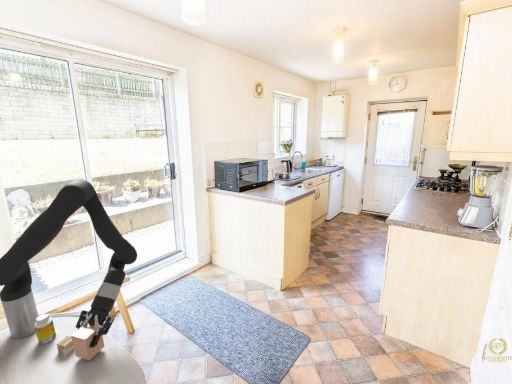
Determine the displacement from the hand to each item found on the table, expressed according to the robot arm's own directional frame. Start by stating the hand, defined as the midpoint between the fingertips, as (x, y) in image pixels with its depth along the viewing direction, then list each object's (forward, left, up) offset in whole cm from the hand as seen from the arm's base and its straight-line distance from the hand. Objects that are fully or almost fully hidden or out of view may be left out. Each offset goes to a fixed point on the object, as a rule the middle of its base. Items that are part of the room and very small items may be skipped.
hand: (84, 344), depth 92 cm
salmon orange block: (-1, +1, -4) cm, 5 cm away
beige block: (-10, -5, -6) cm, 12 cm away
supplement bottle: (-22, -10, -6) cm, 25 cm away
